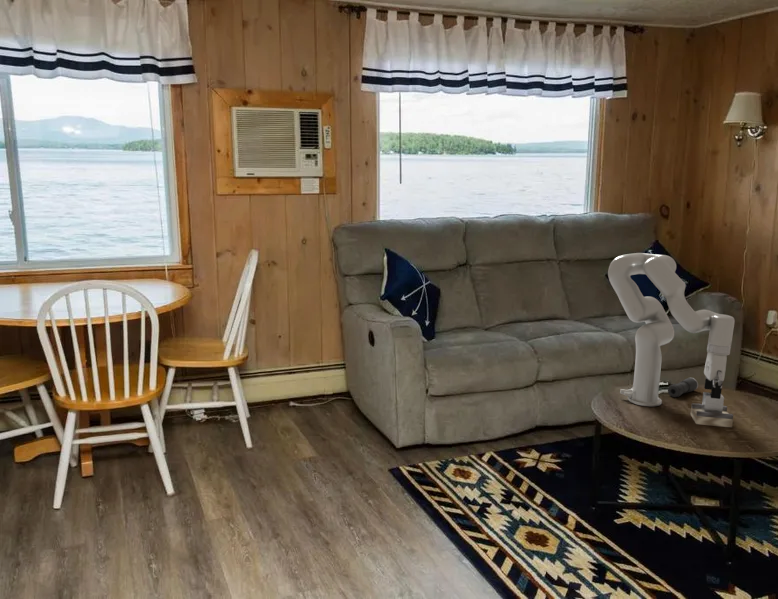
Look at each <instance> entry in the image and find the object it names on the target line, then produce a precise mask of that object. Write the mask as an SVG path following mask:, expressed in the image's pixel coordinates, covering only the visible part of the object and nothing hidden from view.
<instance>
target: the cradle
mask: <svg viewBox="0 0 778 599" xmlns="http://www.w3.org/2000/svg"><path fill="white" fill-rule="evenodd" d="M701 409H702V403H694V402H692V403H691V407H690V416H691V417H692V420H693V421H694V423H695V424H696V425H705V426H714V427H722V428H723V427H725V428H733V423H734V415H733V413H729V412H728V406H726V405H723V410H722V413H714V412H703V411H702V410H701Z"/></svg>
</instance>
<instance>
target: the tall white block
mask: <svg viewBox="0 0 778 599" xmlns="http://www.w3.org/2000/svg"><path fill="white" fill-rule="evenodd" d="M710 396H711V392H706V391H703V393H702V402H701V404H702V409H701V410H702V411H703V412H714V413H722V410H723V406H724V400H725V397H724V395H723V394H722V393H721V397H720V399H716V398H711V397H710Z"/></svg>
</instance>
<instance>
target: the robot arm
mask: <svg viewBox="0 0 778 599" xmlns="http://www.w3.org/2000/svg"><path fill="white" fill-rule="evenodd" d="M676 270H677V263H676V261H675V259H674V258H673V257H671V256H669V255H666V254H657V253H655V254H654V253H645V252H636V253H635V252H634V253H627V254H622V255H621V254H620V255H618V256H617V257H615V258H614V259H613V260H612V261H611V262H610V263H609V266H608V271H607V276H608V280H609V283H610V285H611V286H612V288H613V290H614V292H615V294H616V296H617V297H618V299H619V302H620V303H621V306H622V308H623V310H624V312H625V313H626V315H627V317H628V319H629V320H630V321H631V322H633V323H637V324H638V323H643V322H644V323H645V324H643V325H641V326H639V328H638V329H637V330H636V332H635V335H634V336H635V337H634V340H635V341H634V342H635V362H634V363H635V364H634V373H633V374H634V375H633V384H632V387H631V388H628V389H624V388H620V389H619V390H620V391H619V394H621V395H624V396H627V400H628V401H629V402H630V403H632V404H635V405H638V406H642V407H658V406H661V405H662V402H663V400H662V399H661V398H660V397H659V389H660V379H661V368H662V360H663V359H662V351H661V346H664V345H666V344H669V343H670V342H672V340H673V339H674V338H675V329H674V326H673V324H672V322H671V320H670V318H669V316H668V314H667V313H666V310H665V309H664V306H663V305H662V304H661V302H660V301H659V299H657V298H655V297H654V296H644V295H643V293H642V292H641V290H640V287H639V285H637V283H636V281H634V280H633V279H632V277H631V276H634V275H646V276H647V278H648V279H649V280H650V281H651V283H653V285H654V286H655V288H657V289H658V290H659V292H660V293H661V294H662V295H663V297H664V298H665V300H666V303H667V306H668V309H669V312H670V314H671V315H672V317H673V318H674V319H675V320H676V322H677V323H678V324H679V325H680V326H681V328H683V329H684V330H685V331H687V332H688V333H691V334H696V333H697V334H698V333H701V332H703V331H709V332H708V334H709V335H708V341H707V347H706V352H707V354H706V359H705V363H704V364H705V365H704V370H703V374H704V376H705V381H704V387H703V388H704V390H710V391H711V392H710V393H711V396H710V397H711V398H716V399H720V397H721V394H722V390H723V382H724V380H725V376H726V368H727V358H728V357H727V356H730V354H731V348H732V342H733V334H734V329H735V328H734V327H735V323H736V322H735V318H734V317H733V316H731V315H728V314H722V313H717V312H714V311H712V310H709V309H699V310H694V309H693V308H692V307H691V305H690V304H689V302H688V301H687V299H686V296H685V290H686V283H685V282H684V281H683V280H682V278H681V277H679V275H678V274H677V273H676Z"/></svg>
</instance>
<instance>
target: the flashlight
mask: <svg viewBox="0 0 778 599" xmlns="http://www.w3.org/2000/svg"><path fill="white" fill-rule="evenodd" d="M698 387H699V383H698V381H697V380H696V379H695V378H694V377H688V378H685V379H684V380H682V381H680V382H678V383H672V384H670V385H669V386H668V388H667V393H668V395H669V396H670V397H671V398H678V397H680V396H682V395H683V394H687V393H691V392H693V391H696V390H697V389H698Z"/></svg>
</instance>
